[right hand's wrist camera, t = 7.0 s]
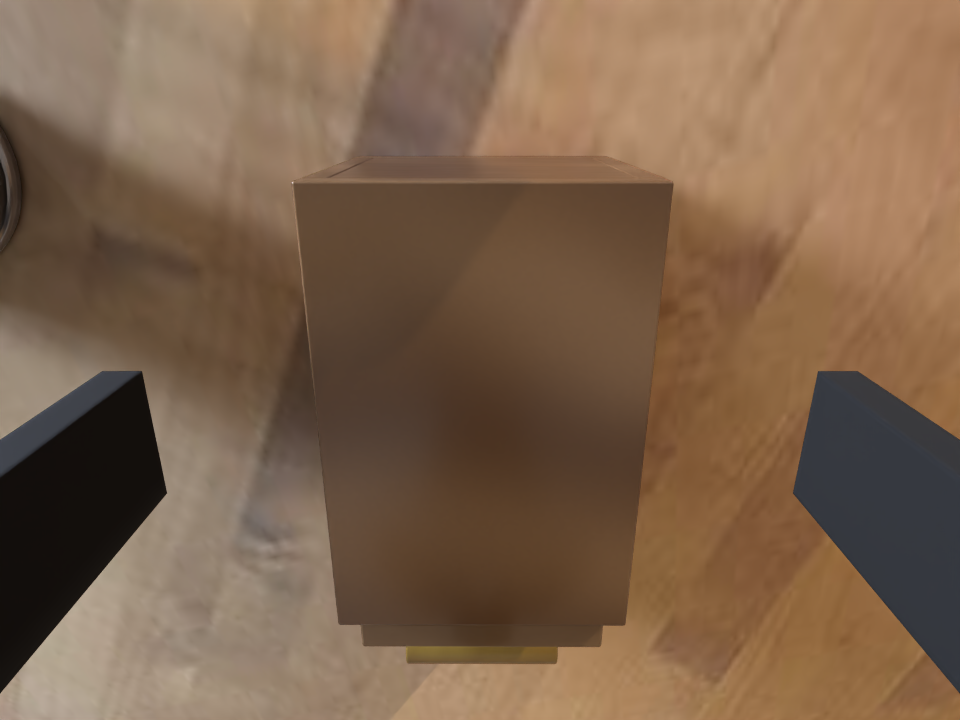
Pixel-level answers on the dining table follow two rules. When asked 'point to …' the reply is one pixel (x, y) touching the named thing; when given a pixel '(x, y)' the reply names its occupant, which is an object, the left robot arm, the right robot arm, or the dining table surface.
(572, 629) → the drawer
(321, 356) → the cabinet
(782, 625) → the dining table surface
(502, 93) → the dining table surface
